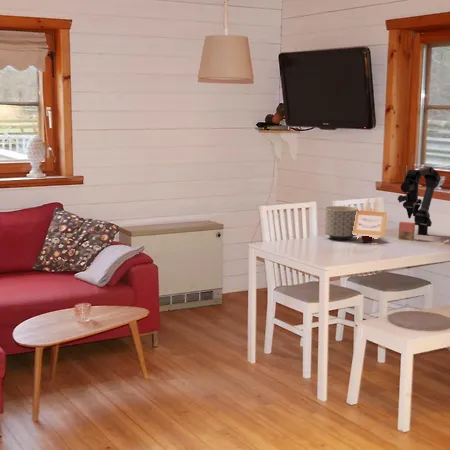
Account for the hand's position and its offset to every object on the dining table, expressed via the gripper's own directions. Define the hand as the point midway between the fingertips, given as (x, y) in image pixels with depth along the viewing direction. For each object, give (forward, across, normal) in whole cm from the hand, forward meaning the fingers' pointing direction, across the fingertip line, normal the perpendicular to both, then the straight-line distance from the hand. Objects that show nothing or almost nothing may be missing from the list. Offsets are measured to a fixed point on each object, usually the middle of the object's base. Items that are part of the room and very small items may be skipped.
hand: (411, 217), depth 445 cm
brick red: (+7, +9, 0) cm, 11 cm away
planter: (+13, +23, -35) cm, 44 cm away
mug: (+13, +25, -17) cm, 33 cm away
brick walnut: (+12, +9, 0) cm, 15 cm away
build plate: (+13, +9, 0) cm, 16 cm away
